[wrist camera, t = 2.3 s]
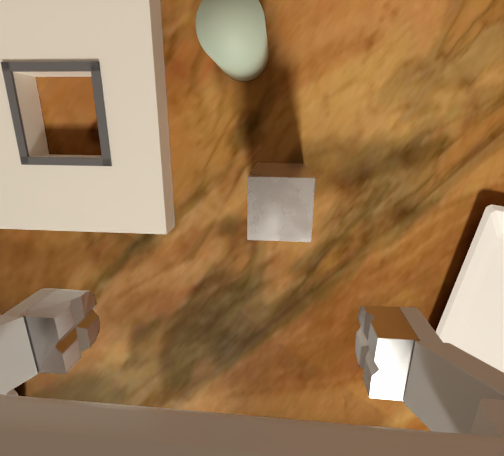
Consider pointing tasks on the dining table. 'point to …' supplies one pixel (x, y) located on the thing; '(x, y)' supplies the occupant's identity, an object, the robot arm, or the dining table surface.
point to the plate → (479, 295)
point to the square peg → (280, 202)
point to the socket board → (107, 110)
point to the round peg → (234, 36)
